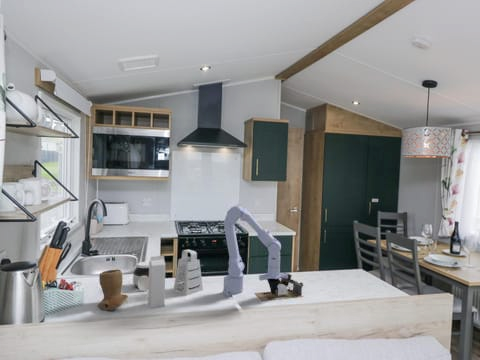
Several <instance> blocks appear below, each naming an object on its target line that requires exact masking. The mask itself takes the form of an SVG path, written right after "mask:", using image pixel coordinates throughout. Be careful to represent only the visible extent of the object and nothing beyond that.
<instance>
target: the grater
mask: <svg viewBox="0 0 480 360" xmlns="http://www.w3.org/2000/svg"><path fill="white" fill-rule="evenodd" d="M189 253H190V256H188V254H189ZM200 261H201V260H200V259H198V253H197V251H195V250H192V249H189V248H188V249H183V250H182V252H181V258H179V259H178V262H177V267H176V273H175V278H174V285H173V290H174V291H176V292H177V293H180V294H181V295H183V296H190V295H192V294H196V293H198V292H202V291H203V290H204V288H203V280H202V270H201V262H200Z"/></svg>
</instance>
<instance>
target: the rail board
mask: <svg viewBox="0 0 480 360" xmlns="http://www.w3.org/2000/svg"><path fill="white" fill-rule="evenodd" d="M300 283H301V282H298V281H297V280H294V281H293V284H292V289H290V290H289V291H287V295H286V296H277V295H276V294H272V293H271V291H263V292H254V295H255V296H256V297H257V298H258V299H259V300H260V301H261V302H267V301H277V300H286V299H287V300H288V299H298V298H304V295H303V294H302V291H303V286H302V285H301V284H300Z"/></svg>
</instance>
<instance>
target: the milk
mask: <svg viewBox="0 0 480 360" xmlns="http://www.w3.org/2000/svg"><path fill="white" fill-rule="evenodd" d="M148 262H149V288H148V290H147V291H148V293H147V296H148V297H147V304H148V305H149V307H150V308H151V309H154V308H160V307H161V308H162V307H165V299H166V298H165V297H166V296H165V295H166V260H165V256H164V255H156V256H155V255H154V256H150V261H148Z"/></svg>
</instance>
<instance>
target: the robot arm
mask: <svg viewBox="0 0 480 360" xmlns="http://www.w3.org/2000/svg"><path fill="white" fill-rule="evenodd" d="M237 221H242V222H246V223H247V224H248V225H249V226H250V227H251V228H252V229H253V231H255V233H257V238H258V239H259V241H260V242H261V243H262V244H263V245H264V246H265V247H266V248H267V251H268V261H267V263H268V264H267V273H263V274H259V276H258V279H259V281H264V280H265V281H266V280H267V283H268V285H269V290H270V292H271V293H272V294H275V292H276V289H277V286H278V284H280V282H281V278H288V274H289V273H288V274H286V273H287V272H285V273H284V272H283V273H281V249H282V243H281V242H280V240H277V238H276V237H274V236H273V235H272V234H271V231H270V230H269V229H267V228H262V226H261V225H260V224H259V222H258V221H257V220H256V219H255V218H254V216H253V215H252V214H251V213H250V211H249V210H248V209H246V208H245V207H244V206H243V205H242V204H236V205H235V206H231V207H230V208H229V209H228V210H227V212H226V215H225V218H224V221H223V227H224V228H223V229H224V233H225V234H224V235H225V239H226V245H227V250H228V256H229V258H228V269H227V272H228V275H226V276H224V277H223V289H222V292H223V293H224V294H225V296H226V297H227V298H231V297H233V294H234V295H239V294H242V293H243V292H244V273H243V271H244V269H245V263H244V262H243V260H242V257H241V255H240V252H239V245H238V239H237V233H236V228H235V225H236V223H237Z"/></svg>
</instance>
